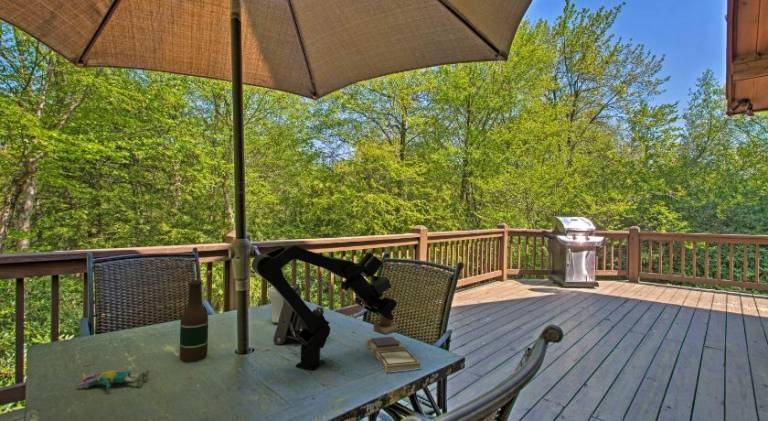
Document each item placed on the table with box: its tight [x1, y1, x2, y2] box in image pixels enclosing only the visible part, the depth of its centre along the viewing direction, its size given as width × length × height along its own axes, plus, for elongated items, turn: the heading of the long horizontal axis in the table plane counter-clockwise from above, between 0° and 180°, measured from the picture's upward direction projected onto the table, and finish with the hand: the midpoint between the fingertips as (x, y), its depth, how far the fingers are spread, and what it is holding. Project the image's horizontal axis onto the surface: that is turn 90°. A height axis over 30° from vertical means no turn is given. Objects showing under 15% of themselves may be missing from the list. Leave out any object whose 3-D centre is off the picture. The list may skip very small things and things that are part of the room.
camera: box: [272, 283, 325, 346], centre depth 134 cm, size 11×17×20 cm, turn 89°
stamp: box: [373, 311, 398, 336], centre depth 128 cm, size 6×6×10 cm
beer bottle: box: [179, 279, 209, 363], centre depth 117 cm, size 8×8×24 cm
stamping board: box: [365, 336, 421, 372], centre depth 122 cm, size 24×10×2 cm, turn 17°
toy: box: [76, 368, 150, 390], centre depth 98 cm, size 11×5×15 cm
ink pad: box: [371, 336, 399, 348], centre depth 128 cm, size 8×8×1 cm
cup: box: [267, 285, 294, 325], centre depth 154 cm, size 11×11×14 cm
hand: (388, 317), depth 129 cm, fingers closed on stamp, 4 cm apart
